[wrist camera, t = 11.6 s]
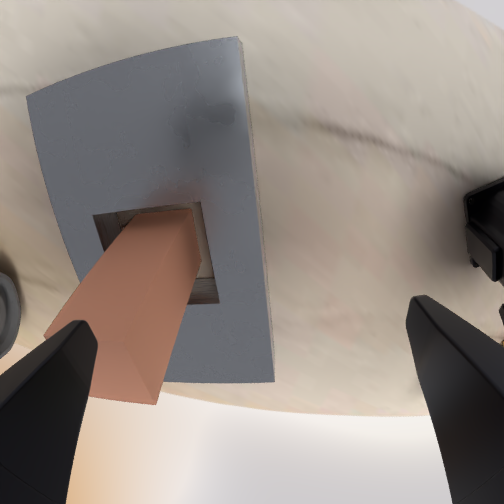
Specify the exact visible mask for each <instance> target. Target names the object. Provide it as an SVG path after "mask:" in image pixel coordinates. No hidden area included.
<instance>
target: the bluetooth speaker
mask: <svg viewBox="0 0 504 504" xmlns="http://www.w3.org/2000/svg"><path fill="white" fill-rule="evenodd" d="M20 318H21V306H20V302H19V298H18V294H17V291H16V288H15V285H14V283H13V281H12V280H11V279H10V277H9V276H7V275H5V274H3V273H2V272H0V359H1V358H2V357H3V356H4V355H6V354H7V353H8V352H9V351H10V350H11V348H12V346H13V344H14V342H15V340H16V337H17V334H18V330H19V325H20Z"/></svg>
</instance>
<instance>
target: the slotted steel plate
mask: <svg viewBox="0 0 504 504" xmlns="http://www.w3.org/2000/svg"><path fill="white" fill-rule="evenodd" d="M26 99H27V105H28V111H29V116H30V121H31V126H32V131H33V136H34V140H35V145H36V149H37V153H38V157H39V161H40V165H41V169H42V173H43V177H44V180H45V184H46V187H47V191H48V194H49V198H50V201H51V204H52V207H53V210H54V214H55V217H56V220H57V223H58V226H59V228H60V231H61V234H62V237H63V240H64V243H65V245H66V248H67V251H68V253H69V256H70V259H71V261H72V264H73V266H74V269H75V271H76V274H77V276H78V279H79V281H80V283H81V282H82V281H83V279H84V278H85V277H86V275H87V274H88V273H89V271H90V270H91V269H92V267H93V266H94V265H95V264H96V262H97V261H98V260H99V259H100V257H101V256H102V255H103V254H104V252H105V251H106V250H107V249H108V247H109V246H110V245H111V244H112V242H113V241H114V240H115V239H116V238H117V236H118V235H119V234H120V233H121V228H120V225H119V221H118V218H117V214H116V212H118V211H125V210H133V209H141V208H149V207H157V206H166V205H174V204H183V203H193V202H201V208H202V213H203V219H204V224H205V229H206V235H207V240H208V245H209V250H210V256H211V261H212V266H213V271H214V276H215V278H206V279H195V282H194V285H193V288H192V291H191V294H190V297H189V300H188V303H187V306H186V309H185V312H184V315H183V318H182V321H181V324H180V328H179V331H178V334H177V337H176V340H175V344H174V347H173V350H172V353H171V356H170V360H169V363H168V366H167V370H166V373H165V376H164V380H163V382H184V383H265V382H275V352H274V341H273V331H272V320H271V309H270V299H269V288H268V278H267V268H266V258H265V248H264V238H263V228H262V218H261V208H260V199H259V189H258V180H257V170H256V161H255V152H254V143H253V134H252V125H251V116H250V107H249V98H248V89H247V81H246V72H245V64H244V55H243V47H242V42H241V41H240V40H239V38H238V37H237V36H236V37H228V38H221V39H214V40H208V41H202V42H196V43H191V44H186V45H181V46H176V47H171V48H167V49H162V50H158V51H154V52H150V53H146V54H142V55H138V56H134V57H131V58H127V59H124V60H120V61H117V62H114V63H111V64H107V65H104V66H101V67H98V68H95V69H92V70H89V71H86V72H84V73H81V74H78V75H75V76H73V77H70V78H68V79H65V80H62V81H60V82H57V83H55V84H53V85H50V86H48V87H46V88H43V89H41V90H39V91H36V92H34V93H32V94H30V95H28V96H26Z"/></svg>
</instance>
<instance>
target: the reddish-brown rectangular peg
mask: <svg viewBox="0 0 504 504" xmlns="http://www.w3.org/2000/svg"><path fill="white" fill-rule="evenodd" d="M200 264H201V256H200V251H199V246H198V241H197V236H196V231H195V226H194V220H193V215H192V210H191V209H181V210H171V211H161V212H152V213H143V214H136V215H135V216H134V217H133V219H132V220H131V221H130V222H129V223H128V224H127V226H126V227H125V228H124V229H123V230H122V232H121V233H120V234H119V235H118V236H117V238H116V239H115V240H114V241H113V242H112V244H111V245H110V246H109V247H108V249H107V250H106V251H105V252H104V254H103V255H102V256H101V257H100V259H99V260H98V261H97V262H96V264H95V265H94V266H93V267H92V269H91V270H90V271H89V273H88V274H87V275H86V277H85V278H84V279H83V281H82V282H81V283H80V285H79V286H78V287H77V289H76V290H75V291H74V293H73V294H72V295H71V297H70V298H69V299H68V301H67V302H66V304H65V305H64V306H63V308H62V309H61V311H60V312H59V314H58V315H57V316H56V318H55V319H54V321H53V322H52V324H51V325H50V327H49V328H48V330H47V331H46V332H45V334H44V337H45V339H46V340H47V339H48V338H50V337H51V336H52V335H54V334H55V333H56V332H58V331H59V330H60V329H62V328H63V327H64V326H66V325H67V324H69V323H70V322H71V321H73V320H86V321H87V322H88V324H89V326H90V328H91V329H92V331H93V333H94V335H95V337H96V339H97V342H98V350H97V355H96V360H95V365H94V371H93V376H92V382H91V388H90V392H89V396H90V397H96V398H102V399H109V400H116V401H124V402H131V403H132V402H133V403H141V404H150V405H156V403H157V400H158V397H159V393H160V390H161V386H162V383H163V380H164V376H165V373H166V370H167V366H168V363H169V360H170V356H171V353H172V350H173V347H174V344H175V340H176V337H177V334H178V331H179V328H180V324H181V321H182V318H183V315H184V312H185V309H186V306H187V303H188V300H189V297H190V294H191V291H192V288H193V285H194V282H195V279H196V276H197V273H198V270H199V267H200Z"/></svg>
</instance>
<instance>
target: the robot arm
mask: <svg viewBox="0 0 504 504" xmlns="http://www.w3.org/2000/svg"><path fill="white" fill-rule="evenodd" d="M471 198H472V200H471V202H470V203H469V200H470V199H471ZM464 207H465V214H466V222H467V223H466V226H465V229H466V238H467V247H468V253H469V254H470V262H471V264H472V265H473V267H475V268H476V267H479V266H480V267H481V268H482V269H483V271H484V272H485V273H486V274H487V275H488V277H489V278H490V279H491V280H492V281H494V282H496V281H499V282H500V283H501V284H502V285H503V287H504V178H502V179H500V180H498V181H496V182H493V183H491V184H489V185H486V186H484V187H482V188H479V189H477V190H475V191H472V192H470V193H468V194H466V196H465V197H464ZM499 313H500V316H501V319H502V322H503V325H504V304H502V306H501V307H500V309H499ZM406 329H407V333H408V337H409V341H410V345H411V350H412V354H413V358H414V363H415V367H416V371H417V375H418V379H419V382H420V385H421V388H422V391H423V394H424V397H425V400H426V403H427V407H428V410H429V413H430V416H431V420H432V423H433V426H434V429H435V433H436V437H437V441H438V444H439V448H440V452H441V455H442V459H443V463H444V467H445V471H446V476H447V480H448V484H449V489H450V493H451V498H452V503H453V504H504V347H503V346H502V345H500V344H499V343H497V342H496V341H494V340H493V339H492V338H490V337H489V336H487V335H486V334H484V333H483V332H481V331H480V330H479V329H477V328H476V327H474V326H473V325H471V324H470V323H468V322H467V321H465V320H464V319H462V318H461V317H459V316H458V315H456V314H455V313H453V312H452V311H450V310H449V309H447V308H446V307H444V306H443V305H441V304H440V303H438V302H437V301H435V300H433V299H432V298H430V297H429V296H427V295H419V296H413V297H412V298H411V300H410V304H409V308H408V313H407V317H406ZM97 350H98V342H97V339H96V337H95V335H94V333H93V331H92V329H91V328H90V326H89V324H88V322H87V321H86V320H73V321H71V322H70V323H69V324H67V325H66V326H64V327H63V328H62V329H60V330H59V331H58V332H56V333H55V334H54V335H52V336H51V337H50V338H48V339H47V340H46V341H44V342H43V343H42V344H40V345H39V346H38V347H36V348H35V349H34V350H32V351H31V352H30V353H28V354H27V355H26V356H25V357H23V358H22V359H21V360H19V361H18V362H17V363H15V364H14V365H13V366H12V367H10V368H9V369H8V370H7V371H5V372H4V373H3V374H1V375H0V504H66V498H67V492H68V487H69V481H70V475H71V470H72V465H73V460H74V455H75V450H76V445H77V441H78V436H79V432H80V428H81V424H82V420H83V416H84V412H85V408H86V404H87V400H88V396H89V392H90V388H91V382H92V376H93V371H94V365H95V360H96V355H97Z"/></svg>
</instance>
